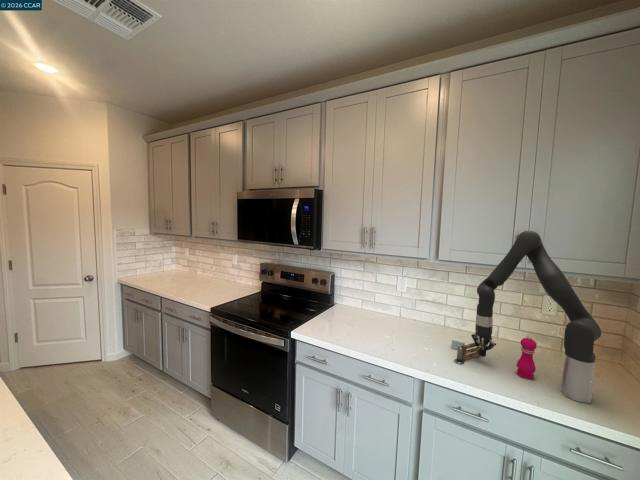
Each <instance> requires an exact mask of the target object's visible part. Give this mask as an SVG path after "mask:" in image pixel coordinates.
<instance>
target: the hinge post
mask: <svg viewBox="0 0 640 480" xmlns="http://www.w3.org/2000/svg"><path fill="white" fill-rule="evenodd" d="M462 355H463V347H460V346H458V350H457V353H456V358H455V359H454V363H455V364H457V365H460V366H462V365H465V361H462Z"/></svg>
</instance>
